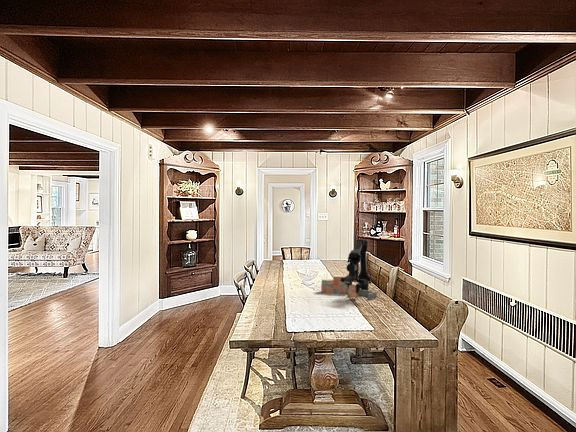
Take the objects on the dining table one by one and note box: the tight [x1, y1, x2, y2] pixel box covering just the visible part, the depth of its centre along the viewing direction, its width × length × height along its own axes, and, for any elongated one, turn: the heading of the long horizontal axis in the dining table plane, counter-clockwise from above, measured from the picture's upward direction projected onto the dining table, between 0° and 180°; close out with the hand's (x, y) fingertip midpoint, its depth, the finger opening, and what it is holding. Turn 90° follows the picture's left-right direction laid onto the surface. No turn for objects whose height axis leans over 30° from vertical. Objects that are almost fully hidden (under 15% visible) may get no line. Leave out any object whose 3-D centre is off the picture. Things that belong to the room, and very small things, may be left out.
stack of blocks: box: [321, 274, 349, 294], centre depth 338 cm, size 21×6×12 cm, turn 86°
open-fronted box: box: [347, 289, 378, 301], centre depth 322 cm, size 11×17×4 cm, turn 50°
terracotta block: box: [348, 284, 360, 299], centre depth 313 cm, size 5×5×8 cm
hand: (353, 293), depth 313 cm, fingers closed on terracotta block, 5 cm apart
